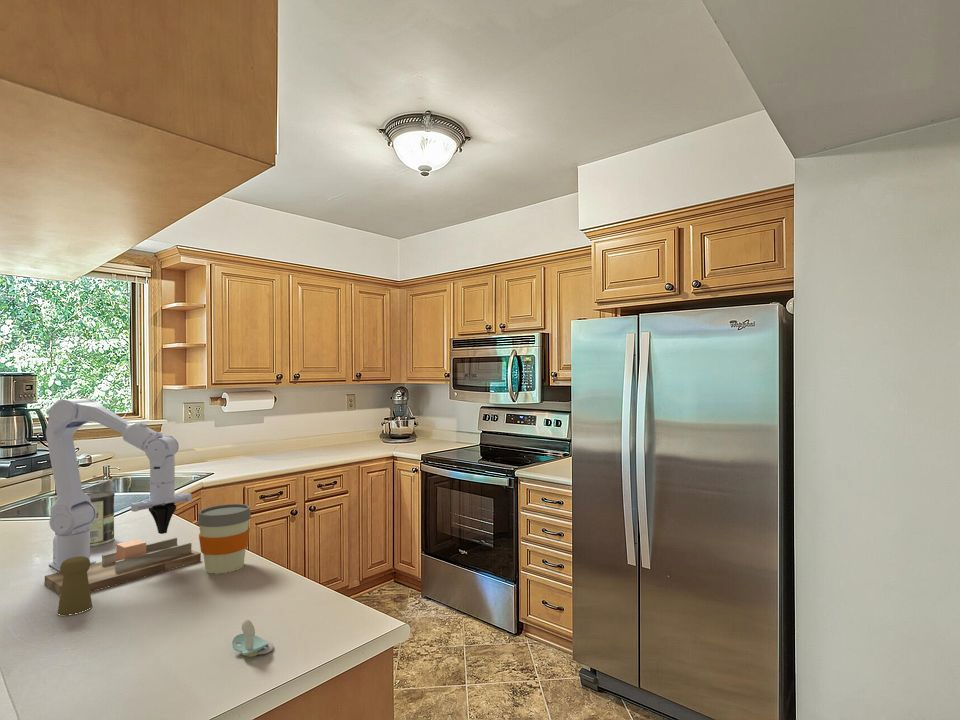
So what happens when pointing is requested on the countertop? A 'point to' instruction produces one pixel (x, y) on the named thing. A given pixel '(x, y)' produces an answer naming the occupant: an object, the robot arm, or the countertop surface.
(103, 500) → the coffee can
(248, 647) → the pacifier
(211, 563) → the reusable coffee cup
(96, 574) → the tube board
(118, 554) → the block
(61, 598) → the cork
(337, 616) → the countertop surface
